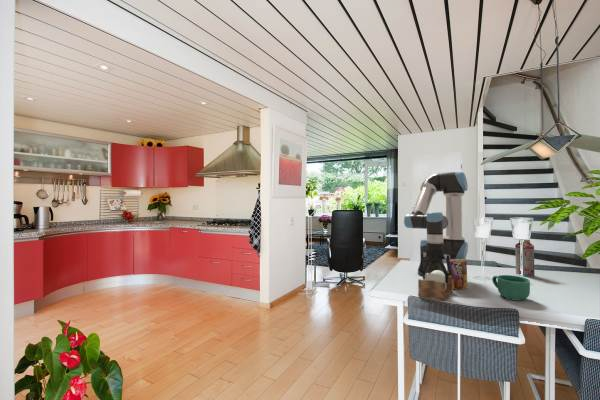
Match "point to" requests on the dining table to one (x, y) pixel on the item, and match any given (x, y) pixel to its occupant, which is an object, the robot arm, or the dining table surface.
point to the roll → (435, 276)
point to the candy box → (459, 273)
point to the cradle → (434, 289)
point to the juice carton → (525, 258)
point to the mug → (512, 286)
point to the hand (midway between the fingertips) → (435, 287)
